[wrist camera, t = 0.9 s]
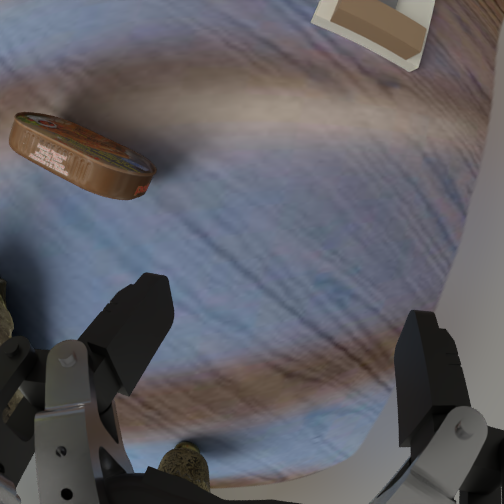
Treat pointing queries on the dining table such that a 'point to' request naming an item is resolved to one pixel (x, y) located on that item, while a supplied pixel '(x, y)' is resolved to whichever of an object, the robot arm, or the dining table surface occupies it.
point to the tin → (81, 156)
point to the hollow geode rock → (3, 326)
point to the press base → (402, 6)
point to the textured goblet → (187, 464)
